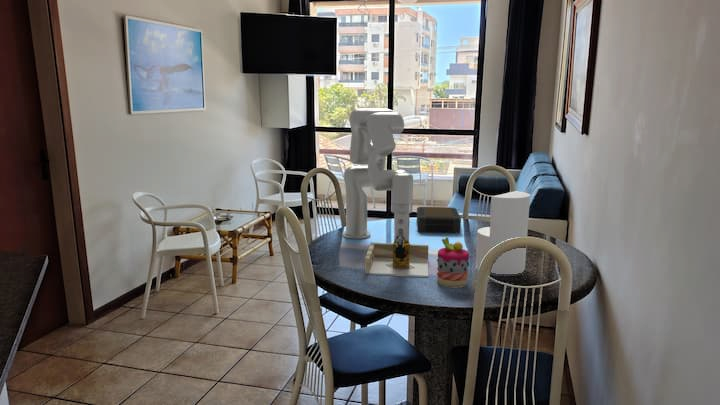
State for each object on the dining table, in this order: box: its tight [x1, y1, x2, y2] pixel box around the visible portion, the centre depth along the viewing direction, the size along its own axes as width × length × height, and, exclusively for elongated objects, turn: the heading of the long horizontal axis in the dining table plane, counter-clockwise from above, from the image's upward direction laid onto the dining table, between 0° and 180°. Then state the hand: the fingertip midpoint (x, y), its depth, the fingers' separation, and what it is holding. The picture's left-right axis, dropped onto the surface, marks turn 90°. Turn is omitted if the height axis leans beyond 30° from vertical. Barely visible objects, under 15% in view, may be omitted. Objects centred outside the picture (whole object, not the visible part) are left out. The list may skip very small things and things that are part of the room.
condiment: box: [385, 235, 413, 271], centre depth 186 cm, size 7×8×12 cm
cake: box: [436, 237, 470, 288], centre depth 171 cm, size 10×11×15 cm
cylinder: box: [475, 190, 531, 274], centre depth 184 cm, size 17×17×28 cm
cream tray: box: [364, 242, 429, 275], centre depth 188 cm, size 20×22×6 cm
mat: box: [368, 257, 429, 278], centre depth 189 cm, size 20×22×1 cm
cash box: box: [416, 206, 462, 235], centre depth 249 cm, size 25×20×8 cm
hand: (400, 253), depth 186 cm, fingers open, 9 cm apart
